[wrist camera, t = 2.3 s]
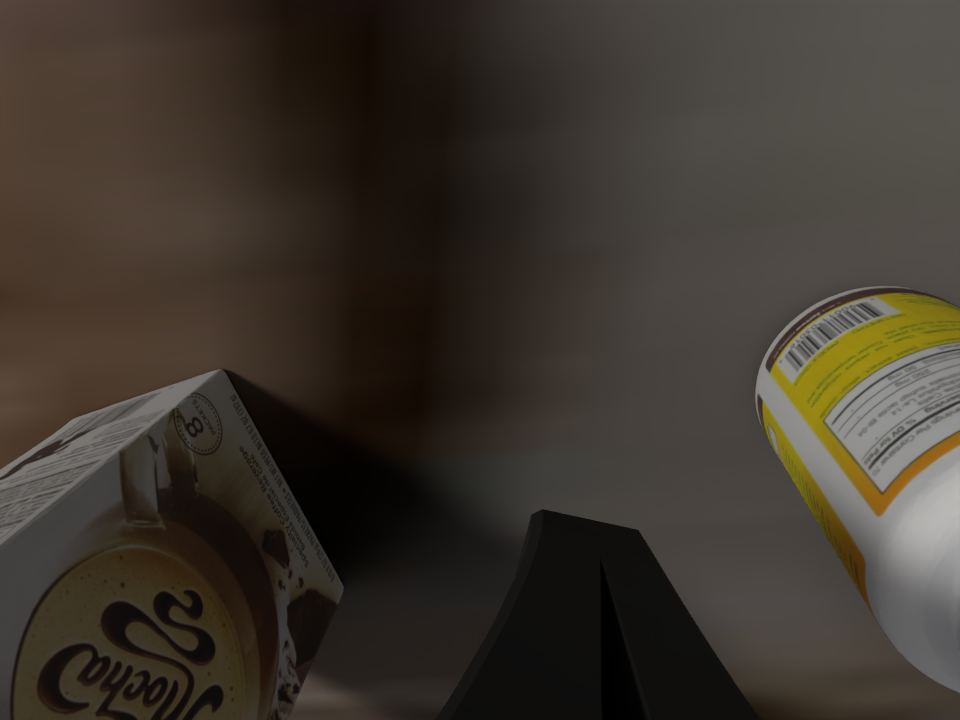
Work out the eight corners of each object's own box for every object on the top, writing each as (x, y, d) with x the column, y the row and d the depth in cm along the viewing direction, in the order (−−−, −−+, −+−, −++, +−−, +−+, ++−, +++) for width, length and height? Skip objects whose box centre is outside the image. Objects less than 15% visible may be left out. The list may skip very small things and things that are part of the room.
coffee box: (355, 588, 22) (-42, 1546, 8) (202, 624, 24) (-372, 1480, 9) (227, 358, 20) (-807, 1191, 5) (62, 416, 21) (-1105, 1182, 6)
